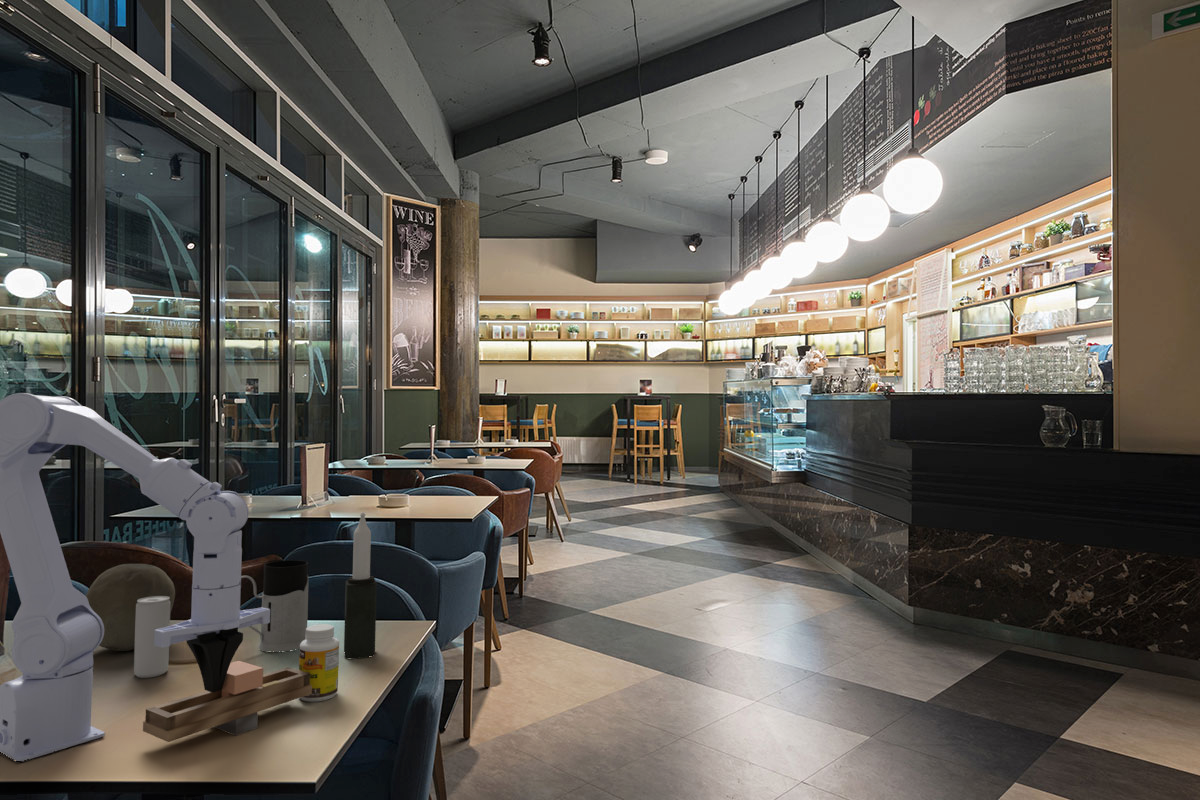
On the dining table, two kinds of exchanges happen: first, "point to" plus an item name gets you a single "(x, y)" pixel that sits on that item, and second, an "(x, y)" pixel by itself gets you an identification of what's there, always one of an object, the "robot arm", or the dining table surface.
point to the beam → (225, 707)
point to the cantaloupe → (125, 600)
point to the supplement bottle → (320, 661)
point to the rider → (242, 678)
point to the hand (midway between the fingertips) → (213, 689)
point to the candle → (360, 598)
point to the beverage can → (150, 636)
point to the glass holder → (284, 605)
